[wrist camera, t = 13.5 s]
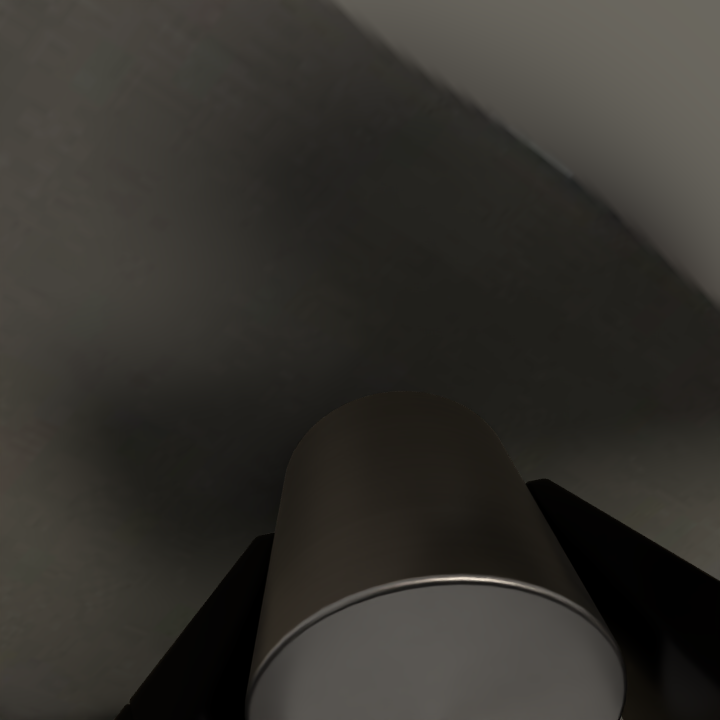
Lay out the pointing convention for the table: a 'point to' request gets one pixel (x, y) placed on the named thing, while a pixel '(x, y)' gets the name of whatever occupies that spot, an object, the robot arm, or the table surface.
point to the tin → (422, 581)
